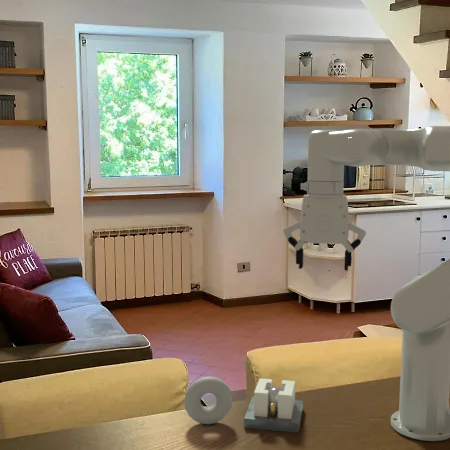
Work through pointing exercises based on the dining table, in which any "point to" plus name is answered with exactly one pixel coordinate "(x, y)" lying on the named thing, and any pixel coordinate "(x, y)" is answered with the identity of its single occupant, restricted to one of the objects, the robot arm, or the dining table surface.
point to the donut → (201, 388)
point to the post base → (274, 415)
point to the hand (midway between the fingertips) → (323, 268)
